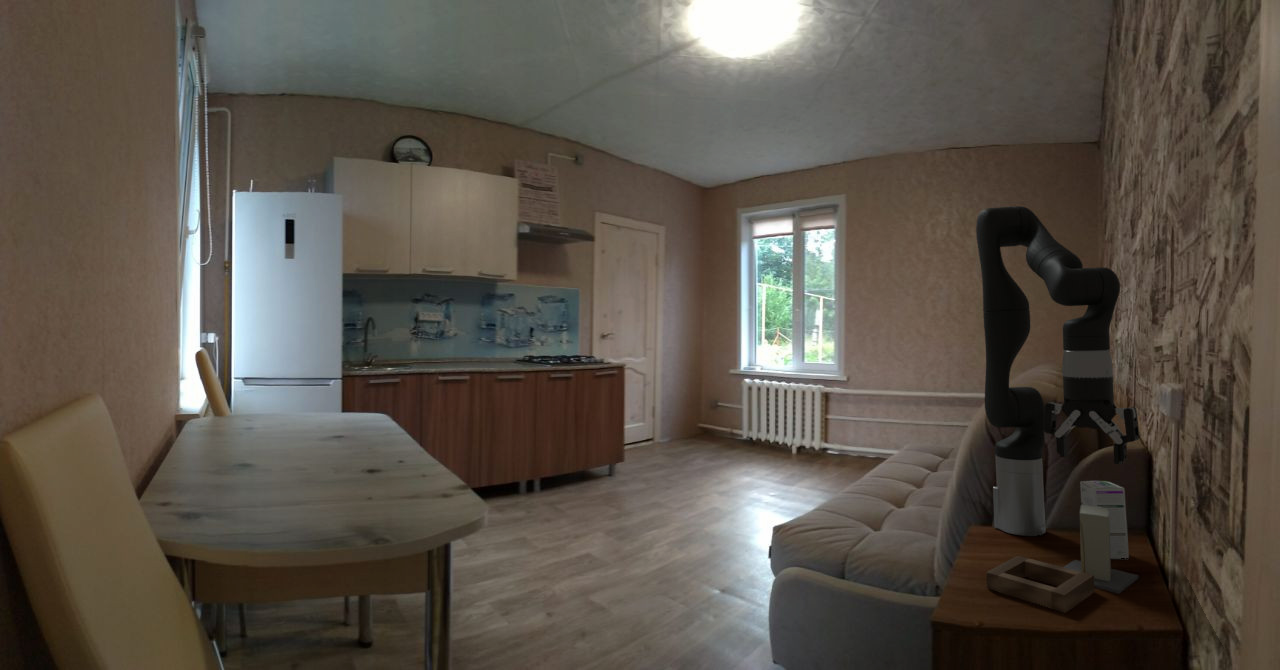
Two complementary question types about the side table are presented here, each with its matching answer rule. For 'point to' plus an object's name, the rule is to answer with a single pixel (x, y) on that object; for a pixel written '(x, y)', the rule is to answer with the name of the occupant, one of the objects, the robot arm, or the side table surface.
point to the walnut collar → (1060, 598)
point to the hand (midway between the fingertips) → (1090, 460)
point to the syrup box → (1115, 501)
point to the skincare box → (1095, 541)
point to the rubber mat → (1117, 579)
